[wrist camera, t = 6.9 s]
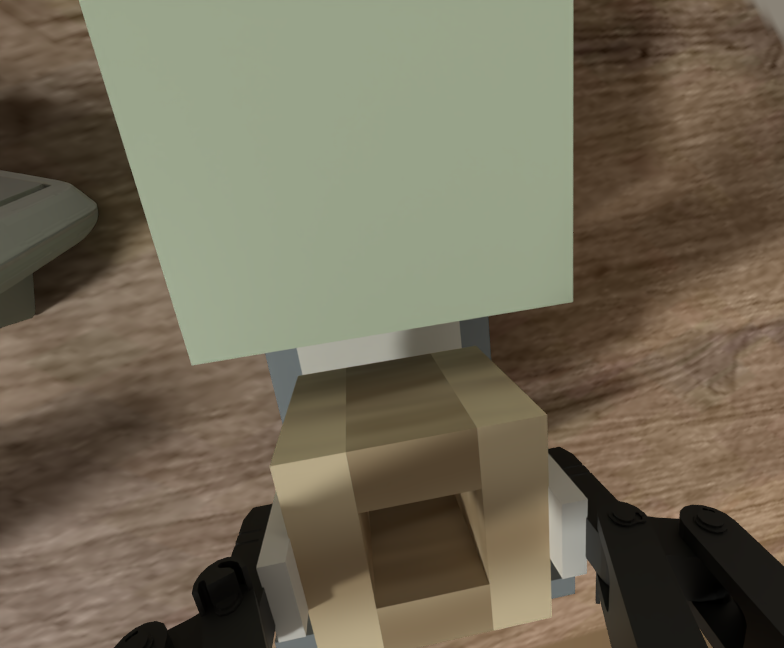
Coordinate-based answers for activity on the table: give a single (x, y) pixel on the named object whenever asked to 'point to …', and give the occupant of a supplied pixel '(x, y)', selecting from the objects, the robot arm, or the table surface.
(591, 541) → the robot arm
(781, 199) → the table surface
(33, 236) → the digital clock
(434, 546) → the birch collar
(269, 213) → the sage cover
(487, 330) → the housing base
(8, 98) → the table surface
